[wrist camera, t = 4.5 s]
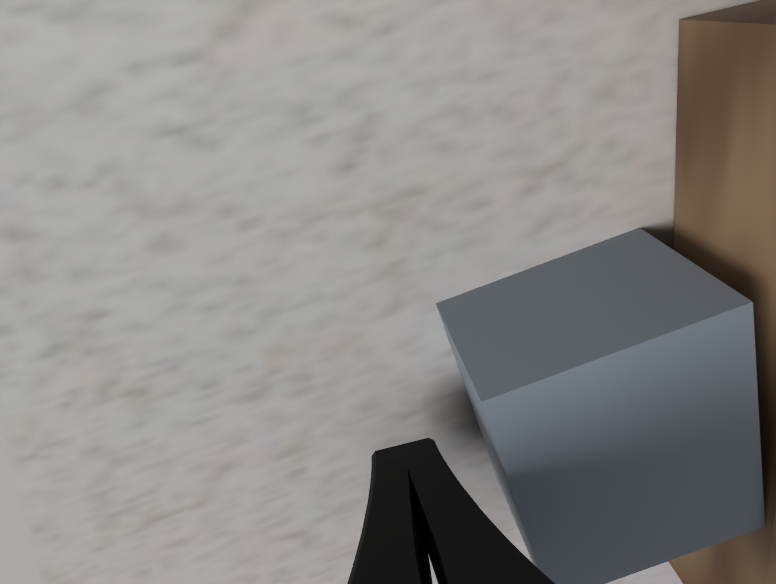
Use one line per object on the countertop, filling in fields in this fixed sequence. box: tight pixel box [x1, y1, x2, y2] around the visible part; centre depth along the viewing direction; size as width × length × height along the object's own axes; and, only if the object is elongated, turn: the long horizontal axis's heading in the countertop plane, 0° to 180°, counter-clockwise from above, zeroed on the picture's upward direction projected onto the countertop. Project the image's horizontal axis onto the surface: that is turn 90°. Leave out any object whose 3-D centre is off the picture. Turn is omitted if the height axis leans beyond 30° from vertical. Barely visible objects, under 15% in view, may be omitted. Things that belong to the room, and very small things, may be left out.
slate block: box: [436, 228, 765, 584], centre depth 13 cm, size 6×5×4 cm
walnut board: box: [669, 0, 776, 584], centre depth 14 cm, size 16×2×4 cm, turn 12°
